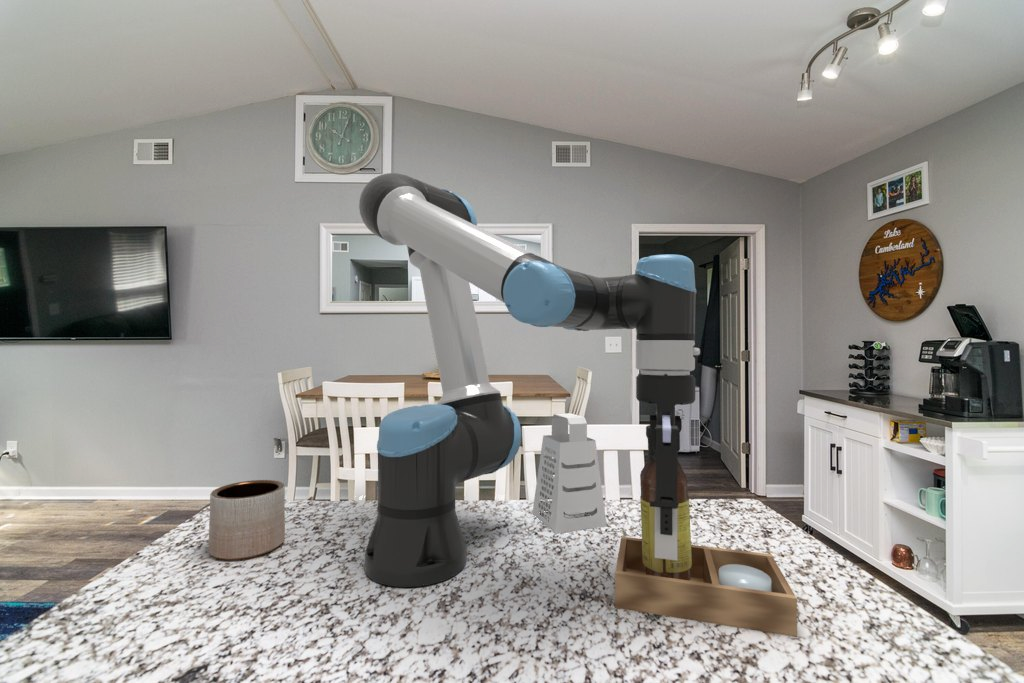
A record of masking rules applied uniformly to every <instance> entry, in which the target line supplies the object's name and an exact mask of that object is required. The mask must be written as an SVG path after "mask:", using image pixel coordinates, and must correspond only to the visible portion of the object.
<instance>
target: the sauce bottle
mask: <svg viewBox="0 0 1024 683" xmlns="http://www.w3.org/2000/svg"><path fill="white" fill-rule="evenodd" d="M645 436H646V438H647V449H648V450H647V452H648V453H647V461H646V462H645V464H644V466H643V468H642V469H641V471H640V474H639V475H640V478H639V479H640V480H639V481H640V498H639V499H640V502H639V503H640V521H641V522H640V523H641V539H642V557H643V564H644V571H645V573H646V575H652V576H660V577H667V578H674V579H681V580H688V581H689V580H690V578H691V574H692V573H691V566H692V555H691V545H692V534H691V514H690V513H691V512H690V497H689V490H688V482H689V481H688V477H687V475H686V473H685V471H684V469H683V467H682V465H681V462H680V461H679V459H678V458H679V455H678V454H677V500H678V501H679V505H678V507H677V560H669V559H661V558H655V507H651V506H650V501H652V502H655V499H656V452H655V451H653V449H652V431H651V429H650V424H649V425H646V427H645Z"/></svg>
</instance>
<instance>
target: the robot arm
mask: <svg viewBox="0 0 1024 683" xmlns="http://www.w3.org/2000/svg"><path fill="white" fill-rule="evenodd" d="M358 209H359V214H360V217H361V219H362V220H361V221H362V223H363V224H364V225H365V227H366V229H368V230H369V231H370V232H371V233H372V234H374V235H375V236H377V237H378V238H381V239H382V240H384V241H385V242H386V243H387V242H388V243H390V244H392V245H393V246H394V245H395V246H406V248H407V253H408V259H409V262H410V264H411V265H412V266H414V267H415V268H416V269H418V270H419V272H420V278H421V283H422V284H421V285H422V288H423V294H424V300H425V305H426V306H425V307H426V309H427V310H426V311H427V315H428V322H429V326H430V331H431V332H430V333H431V337H432V342H433V347H434V353H435V358H436V365H437V369H438V375H439V379H440V384H441V389H442V394H441V397H440V398H439V400H438V402H437V403H436V404H435V403H433V404H421V405H420V406H419V405H413V406H407V407H403V408H399V409H396V410H394V411H392V412H389V413H387V414H386V415H385V416H384V417H383V418H382V419H381V421H380V424H379V427H378V440H377V443H376V450H377V515H376V518H375V521H374V524H373V528H372V530H371V534H370V537H369V539H368V543H367V544H366V549H365V552H364V572H365V575H366V576H367V577H368V578H369V579H371V580H372V581H373V582H376V583H379V584H381V585H384V586H390V587H395V588H396V587H397V588H414V587H423V586H424V587H425V586H428V585H434V584H438V583H441V582H443V581H446V580H448V579H451V578H452V577H454V576H456V575H457V574H459V573H460V572H461V571H462V570H463V569H464V568H465V566H466V563H467V544H466V541H465V540H466V539H465V538H464V537H465V536H464V533H463V531H462V528H461V525H460V520H459V518H458V515H457V512H456V490H457V489H456V486H457V484H459V483H463V482H466V481H468V480H471V479H475V478H478V477H481V476H483V475H490V474H494V473H496V472H498V471H499V470H501V469H503V468H505V467H507V466H508V465H509V464H511V462H513V461H514V459H515V458H516V455H517V454H518V453H519V452H518V451H519V450H520V448H521V447H520V446H521V444H522V428H521V427H522V426H521V423H520V421H519V418H518V416H517V415H516V413H515V412H513V411H512V410H511V408H510V407H508V406H506V405H504V403H503V400H502V393H501V391H500V389H499V390H498V389H497V388H496V387H494V386H493V385H491V383H490V378H489V373H488V369H487V364H486V358H485V354H484V348H483V345H482V344H483V343H482V340H481V334H480V329H479V324H478V319H477V314H476V311H475V310H476V309H475V304H474V299H473V296H472V291H471V285H470V284H472V285H473V286H475V287H477V288H478V289H480V290H482V291H484V292H485V293H487V294H488V295H491V297H494V298H495V299H497V300H499V301H500V302H501V303H503V304H505V305H504V306H505V307H506V309H507V311H508V312H509V314H510V316H512V318H514V319H515V320H517V321H519V322H521V323H523V324H526V325H527V324H528V325H531V326H533V327H539V328H549V327H550V328H555V327H556V328H562V329H565V330H569V331H570V330H571V331H577V332H578V331H579V332H580V331H583V332H586V331H587V332H589V331H599V330H600V331H601V330H604V331H605V330H621V329H626V330H633V329H634V330H635V332H636V337H635V338H636V340H635V369H637V370H638V371H640V373H638V374H637V376H635V386H636V387H635V389H636V390H635V398H636V400H637V401H638V402H640V403H643V404H653V405H654V404H655V406H656V409H655V410H656V411H655V412H654V414H650V415H649V425H650V429H651V431H652V449H653V451H655V452H656V499H655V502H652V501H650V506H651V507H655V558H661V559H669V560H677V507H678V505H679V501H678V500H677V455H678V452H680V450H681V437H680V436H681V435H680V434H681V431H682V428H683V425H682V424H683V423H682V422H683V421H682V418H681V415H676V405H679V406H680V405H681V406H683V405H685V406H686V405H691V404H693V403H695V402H696V377H695V376H694V375H693V374H690V373H691V372H692V371H694V370H695V369H696V358H695V357H694V356H700V355H701V349H700V348H699V347H695V345H696V343H695V342H696V341H695V340H696V297H697V296H696V295H697V288H696V279H695V278H696V277H695V276H696V275H695V265H694V262H693V261H692V259H691V258H689V257H688V256H685V255H682V254H668V253H667V254H655V255H649V256H646V257H645V256H644V257H641V258H640V259H638V261H637V262H636V266H635V270H634V271H635V272H634V274H628V275H622V276H607V277H598V276H594V275H591V274H586V273H583V272H579V271H574V270H572V269H568V268H565V267H564V266H563V267H562V266H560V265H558V264H556V263H554V262H552V261H550V260H547V259H545V258H544V257H541V256H539V255H537V254H536V253H533V252H530V251H529V250H527V249H524V248H523V247H520V246H519V245H517V244H514V243H512V242H511V241H508V240H506V239H505V238H502V237H500V236H498V235H496V234H494V233H492V232H490V231H488V230H486V229H484V228H481V227H480V226H478V222H477V216H476V214H475V211H474V209H473V207H472V206H471V204H470V202H468V201H467V200H466V199H465V198H463V197H461V196H459V195H458V194H456V193H454V192H453V191H450V190H448V189H441V188H439V187H436V186H434V185H431V184H429V183H426V182H424V181H421V180H418V179H416V178H414V177H411V176H409V175H405V174H401V173H397V172H395V173H394V172H393V173H392V172H390V173H389V172H388V173H383V174H380V175H378V176H376V177H373V178H372V179H371V180H370V181H368V182H367V183H366V185H365V186H364V188H363V190H362V192H361V194H360V196H359V203H358Z"/></svg>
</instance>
